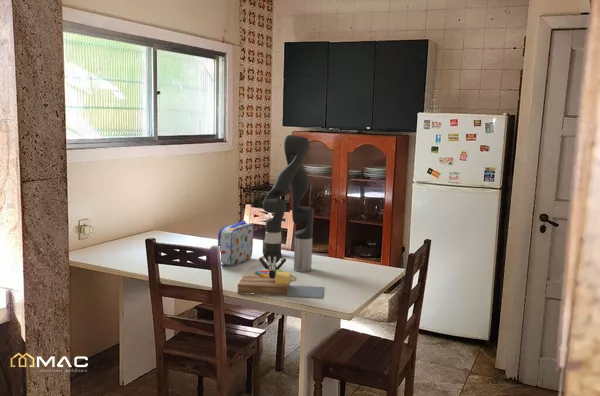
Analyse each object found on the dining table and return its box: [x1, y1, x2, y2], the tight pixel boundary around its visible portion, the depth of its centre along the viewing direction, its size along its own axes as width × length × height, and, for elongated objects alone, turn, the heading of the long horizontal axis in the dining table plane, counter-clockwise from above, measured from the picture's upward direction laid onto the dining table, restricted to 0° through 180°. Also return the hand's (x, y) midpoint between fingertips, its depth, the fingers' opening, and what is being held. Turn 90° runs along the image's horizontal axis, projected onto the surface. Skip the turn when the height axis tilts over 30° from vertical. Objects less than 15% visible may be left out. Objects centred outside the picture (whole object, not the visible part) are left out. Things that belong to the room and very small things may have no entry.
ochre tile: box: [275, 271, 291, 284], centre depth 254 cm, size 9×6×3 cm, turn 177°
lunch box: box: [217, 220, 255, 266], centre depth 300 cm, size 28×10×22 cm, turn 158°
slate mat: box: [285, 284, 325, 299], centre depth 251 cm, size 16×16×1 cm
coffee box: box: [262, 225, 283, 255], centre depth 320 cm, size 9×6×16 cm
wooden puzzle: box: [246, 269, 297, 282], centre depth 272 cm, size 18×19×4 cm
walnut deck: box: [237, 275, 291, 297], centre depth 252 cm, size 14×22×4 cm, turn 86°
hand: (272, 278), depth 254 cm, fingers closed
